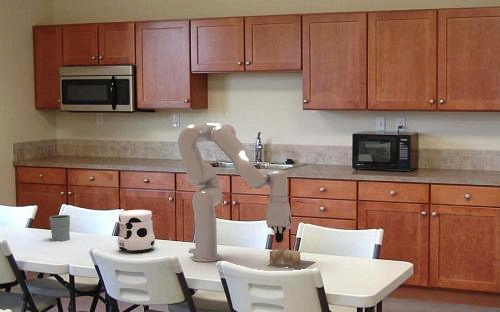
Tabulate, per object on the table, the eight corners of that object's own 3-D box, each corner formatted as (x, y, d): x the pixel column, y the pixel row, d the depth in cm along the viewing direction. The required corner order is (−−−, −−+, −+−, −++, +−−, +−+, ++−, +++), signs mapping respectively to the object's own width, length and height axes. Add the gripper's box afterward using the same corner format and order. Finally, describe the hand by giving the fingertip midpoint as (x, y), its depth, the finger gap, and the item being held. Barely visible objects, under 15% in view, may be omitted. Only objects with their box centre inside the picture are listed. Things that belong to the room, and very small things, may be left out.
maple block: (269, 251, 323) (295, 253, 317) (274, 248, 327) (300, 251, 321) (269, 262, 323) (295, 265, 318) (274, 260, 327) (300, 262, 322)
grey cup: (65, 242, 377) (63, 218, 376) (46, 241, 379) (45, 217, 378) (74, 238, 387) (73, 214, 386) (56, 237, 389) (55, 214, 388)
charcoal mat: (267, 266, 319) (267, 265, 319) (281, 259, 331) (281, 258, 331) (302, 269, 311) (302, 268, 311) (315, 262, 324) (315, 261, 324)
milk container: (158, 246, 363) (157, 209, 361) (150, 254, 346) (149, 215, 344) (123, 246, 364) (122, 209, 363) (113, 254, 347) (112, 215, 346)
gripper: (259, 199, 321) (259, 242, 323) (291, 201, 314) (291, 245, 316) (266, 197, 328) (267, 239, 330) (298, 199, 321) (299, 241, 323)
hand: (279, 241), depth 323 cm, fingers closed
